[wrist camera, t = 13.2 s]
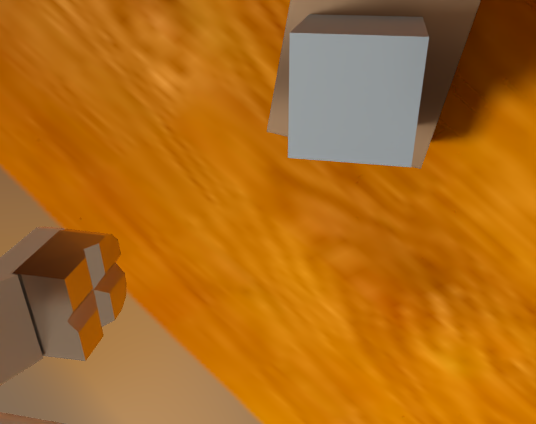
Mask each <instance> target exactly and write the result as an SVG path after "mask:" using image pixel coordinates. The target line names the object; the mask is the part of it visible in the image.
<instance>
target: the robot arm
mask: <svg viewBox="0 0 536 424" xmlns="http://www.w3.org/2000/svg"><path fill="white" fill-rule="evenodd" d="M120 255H121V252H120V247H119V243H118V239H117V238H115V237H114V236H113V235H112V234H104V233H96V232H88V231H80V230H72V229H63V228H53V227H38V228H35V229H34V230H33V231H32V232H31V233H29V234H28V235H27V236H26V237H25V238H23V239H22V240H21V241H20V242H19V243H17V244H16V245H15V246H14V247H13V248H11V249H10V250H9V251H8V252H7V253H5V254H4V255H3V256H2V257H0V385H2V384H4V383H5V382H7V381H8V380H10V379H11V378H13V377H14V376H16V375H18V374H19V373H21V372H22V371H24V370H25V369H27V368H28V367H30V366H32V365H33V364H35V363H36V362H38V361H39V360H41V359H43V356H49V357H57V358H66V359H74V360H82V361H86V360H87V358H88V357H89V356H90V354H91V353H92V351H93V350H94V348H95V347H96V346H97V344H98V343H99V342H100V340H101V339H102V337H103V331H102V326H104V325H106V324H108V323H110V322H112V321H114V320H115V319H116V317H117V316H118V314H119V313H120V312H121V309H122V307H123V304H124V301H125V298H126V278H125V273H124V272H123V271H122V270H121V268H120V267H119V266H118V265H117V264H116V261H117V260H118V258H119V257H120ZM0 424H64V423H58V422H53V421H47V420H41V419H36V418H30V417H25V416H19V415H14V414H8V413H2V412H0Z"/></svg>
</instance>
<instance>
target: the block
mask: <svg viewBox="0 0 536 424" xmlns="http://www.w3.org/2000/svg"><path fill="white" fill-rule="evenodd" d="M428 41H429V35H428V32H427V29H426V26H425V23H424V20H423V17H406V16H362V15H318V14H309V15H308V16H307V17H306V18H305V19H304V20H303V21H301V22H300V23H299V24H298V25H297V26H296V27H295V28H294V29H293V30H292V31H291V32H290V46H289V124H288V158H298V159H311V160H324V161H337V162H350V163H363V164H376V165H389V166H402V167H411V165H412V158H413V151H414V144H415V136H416V129H417V122H418V114H419V107H420V100H421V92H422V85H423V78H424V70H425V63H426V56H427V48H428Z"/></svg>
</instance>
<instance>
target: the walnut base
mask: <svg viewBox="0 0 536 424" xmlns="http://www.w3.org/2000/svg"><path fill="white" fill-rule="evenodd" d="M480 1H481V0H291V1H290V6H289V12H288V17H287V23H286V28H285V34H284V39H283V45H282V50H281V56H280V61H279V67H278V72H277V78H276V83H275V89H274V94H273V100H272V105H271V111H270V116H269V122H268V127H267V132H271V133H275V134H279V135H283V136H287V137H288V124H289V46H290V32H291V31H292V30H293V29H294V28H295V27H296V26H297V25H298V24H299V23H300V22H301V21H303V20H304V19H305V18H306V17H307V16H308V15H309V14H318V15H362V16H406V17H423V20H424V23H425V26H426V29H427V32H428V35H429V41H428V48H427V56H426V63H425V70H424V78H423V85H422V92H421V100H420V107H419V114H418V122H417V129H416V136H415V144H414V151H413V158H412V165H411V167H415V168H419V169H421V167H422V164H423V161H424V158H425V155H426V153H427V150H428V147H429V144H430V141H431V139H432V136H433V133H434V130H435V127H436V125H437V122H438V119H439V116H440V113H441V111H442V108H443V105H444V102H445V99H446V97H447V94H448V91H449V88H450V85H451V83H452V80H453V77H454V74H455V71H456V69H457V66H458V63H459V60H460V57H461V55H462V52H463V49H464V46H465V43H466V41H467V38H468V35H469V32H470V29H471V27H472V24H473V21H474V18H475V15H476V13H477V10H478V7H479V4H480Z"/></svg>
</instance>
